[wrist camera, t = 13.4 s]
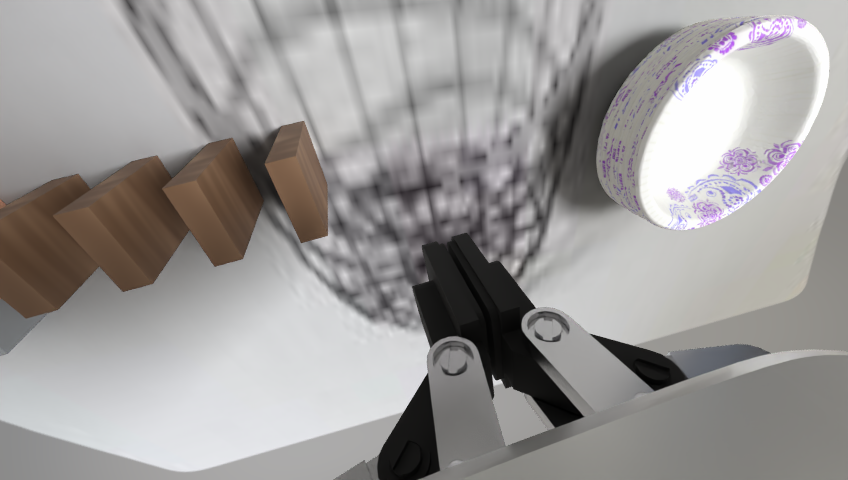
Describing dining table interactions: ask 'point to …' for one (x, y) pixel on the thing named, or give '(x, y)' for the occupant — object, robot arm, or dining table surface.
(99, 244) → the domino
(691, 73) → the white floral bowl
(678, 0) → the dining table surface
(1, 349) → the end block
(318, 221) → the domino
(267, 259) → the dining table surface
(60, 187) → the domino
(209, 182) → the domino
